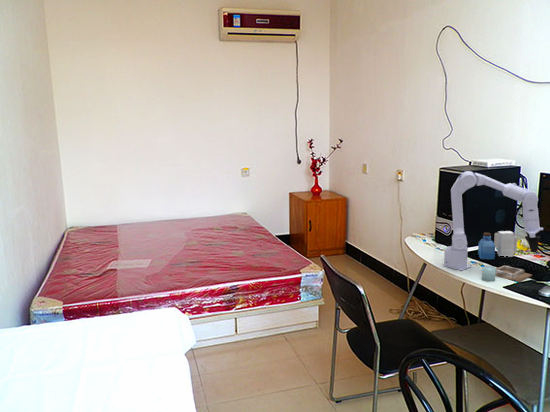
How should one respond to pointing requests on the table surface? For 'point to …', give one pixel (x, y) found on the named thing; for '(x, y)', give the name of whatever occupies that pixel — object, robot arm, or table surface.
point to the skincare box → (505, 243)
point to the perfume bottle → (486, 247)
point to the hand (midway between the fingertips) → (534, 249)
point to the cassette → (497, 242)
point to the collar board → (512, 273)
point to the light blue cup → (488, 273)
